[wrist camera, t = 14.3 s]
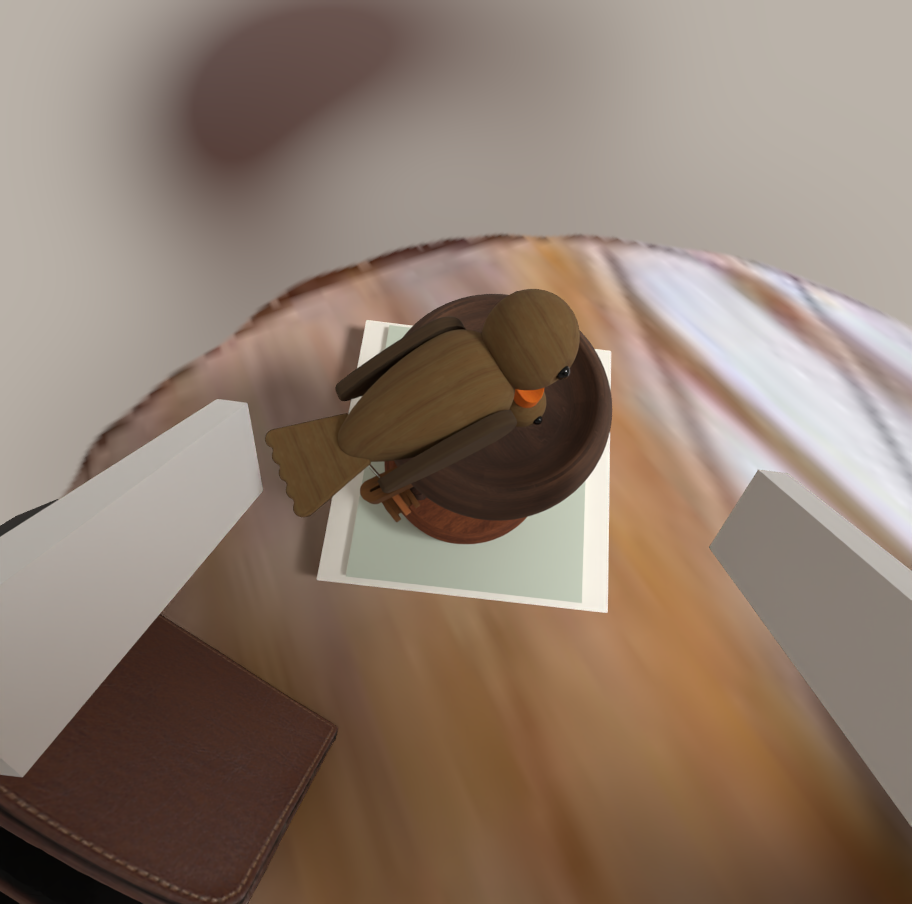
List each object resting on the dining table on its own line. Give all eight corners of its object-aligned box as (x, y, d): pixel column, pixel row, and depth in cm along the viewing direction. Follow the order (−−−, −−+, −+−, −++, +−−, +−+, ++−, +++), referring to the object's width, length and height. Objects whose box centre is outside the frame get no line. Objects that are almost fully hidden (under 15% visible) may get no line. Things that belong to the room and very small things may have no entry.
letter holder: (106, 576, 27) (-238, 611, 13) (342, 725, 25) (232, 940, 12) (0, 716, 25) (-551, 935, 11) (252, 889, 23) (-16, 1393, 9)
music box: (453, 601, 25) (425, 719, 6) (346, 487, 27) (76, 303, 8) (597, 446, 28) (891, 185, 9) (489, 355, 30) (538, -5, 11)
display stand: (600, 362, 33) (613, 347, 30) (595, 607, 28) (610, 614, 25) (370, 333, 32) (365, 316, 30) (325, 577, 27) (314, 580, 25)
